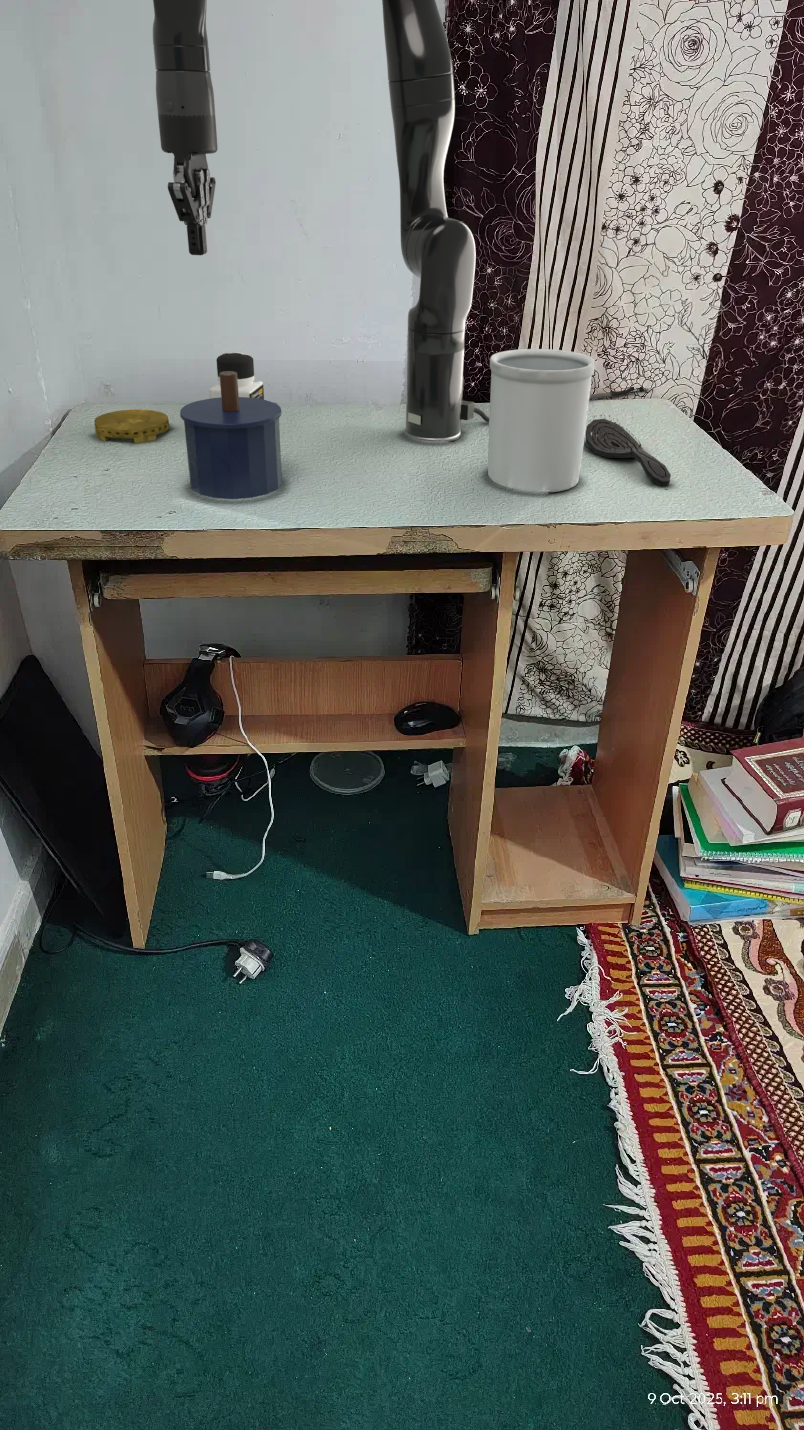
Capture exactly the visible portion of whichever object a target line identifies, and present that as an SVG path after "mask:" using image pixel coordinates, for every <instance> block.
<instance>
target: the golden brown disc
mask: <svg viewBox="0 0 804 1430" xmlns="http://www.w3.org/2000/svg"><path fill="white" fill-rule="evenodd" d="M169 420H170V419H169V416H168V415H167V414H166V413H164V412H161V411H158V410H151V409H122V410H121V409H120V410H114V411H110V412H106V413H102V414H101V415H98V416H96V417H95V418H94V421H93V423H94V430H95V435H96V437H97V438H98V439H100V440H102V441H104V442H105V441H108V440H112V439H133V441H134V444H137V443H138V444H140V443H146V442H153V441H157V436H158V435H160V434H163V433H165V432H166V431H170V421H169Z"/></svg>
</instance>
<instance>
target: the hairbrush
mask: <svg viewBox="0 0 804 1430" xmlns="http://www.w3.org/2000/svg"><path fill="white" fill-rule="evenodd" d="M603 416H604V417H606V414H603V415H602V414H599V417H603ZM596 417H597V415H593V419H589V421H588V424H586V428H585V444H586V445H587V447H588V448H589V449H590V450H591V451H592V453H593V454H594V455H597V456H600V457H603V458H607V459H608V458H609V459H611V458H612V459H627V458H633V459H635V461H637V462H638V463H640V466H641V468H642V470H643V472H644V474H645V475H646V476H647V477H648V478H649V479H650V480H651V482H653V483H654V484H656V485H658V486H660V487H662V488H664V487H669V486H670V484H671V477H672V475H671V473H670V471H669V470H668V467H667V466H666V465H665V463H662V462H661V461H660V460H658V459H657V458H656V457H655V456H653V455H652V454H650V453H648V452H647V451H645V450H644V448H643V447H642V443H641V441H639V439H637V437H636V436H635V435H634V434H633V433H632V432H631V431H630V430H628V428H625V429H624V427H623V426H622V425H621V424H620V423H617V422H618V419H616V421H612V420H615V419H614V417H613V418H612V419H611V414H609V415H608V418H609V419H606V418H598V419H597V418H596ZM630 432H631V433H630ZM634 436H635V437H634Z"/></svg>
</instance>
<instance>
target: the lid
mask: <svg viewBox="0 0 804 1430" xmlns="http://www.w3.org/2000/svg"><path fill="white" fill-rule="evenodd" d="M220 387H221V397H220V398H211V399H210V398H205V399H201V400H196V401H193V402H190V403H188V404H186V405H184V406H182V407H181V408H180V410H179V416H180V419H181V420H182V421H183V422H184V421H185V422H187V423H190V424H193V425H196V426H201V427H208V428H222V429H233V428H247V427H254V426H260V425H264V424H267V423H270V422H273V421H275V420H277V419H278V418H279V419H280V418H281V416H282V414H283V413H282V407H281V406H280V405H279V404H278V403H276V402H273V401H271V400H266V399H264V400H263V399H257V398H248V397H239V393H238V378H237V373H236V372H233V371H224V372H221V373H220Z"/></svg>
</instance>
